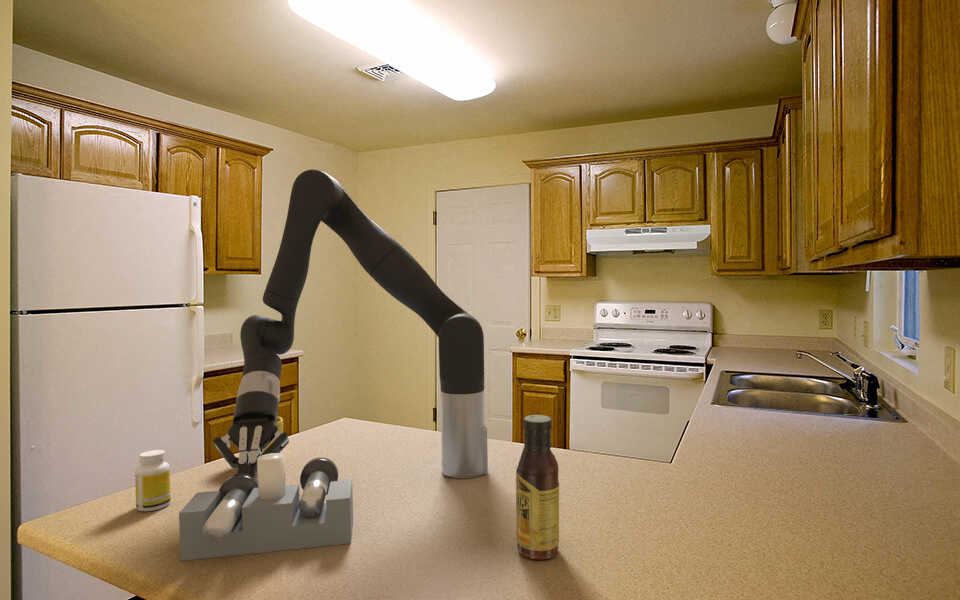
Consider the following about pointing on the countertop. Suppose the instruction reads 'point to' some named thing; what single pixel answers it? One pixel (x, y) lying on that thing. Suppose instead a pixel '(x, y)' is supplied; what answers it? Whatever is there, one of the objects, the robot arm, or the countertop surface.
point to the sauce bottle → (537, 492)
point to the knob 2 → (316, 485)
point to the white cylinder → (271, 476)
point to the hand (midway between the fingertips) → (245, 487)
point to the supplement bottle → (152, 481)
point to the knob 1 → (229, 506)
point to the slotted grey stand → (268, 524)
